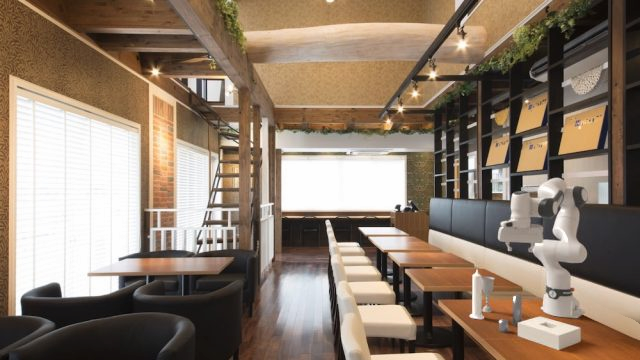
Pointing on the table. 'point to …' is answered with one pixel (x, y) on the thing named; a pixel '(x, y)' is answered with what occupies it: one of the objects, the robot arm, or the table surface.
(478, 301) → the candle
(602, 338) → the table surface
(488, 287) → the chalice
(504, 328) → the short pin
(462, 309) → the table surface
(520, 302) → the long pin
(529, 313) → the table surface
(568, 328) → the hole block
